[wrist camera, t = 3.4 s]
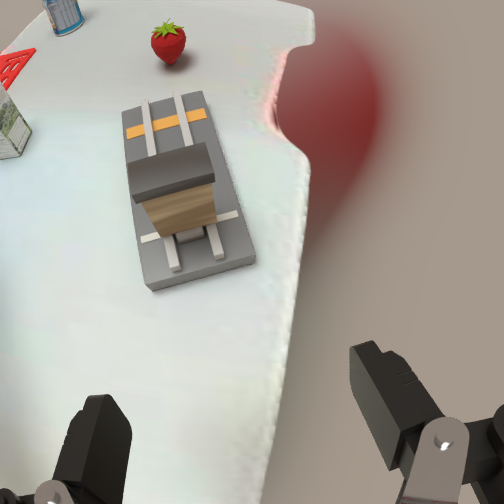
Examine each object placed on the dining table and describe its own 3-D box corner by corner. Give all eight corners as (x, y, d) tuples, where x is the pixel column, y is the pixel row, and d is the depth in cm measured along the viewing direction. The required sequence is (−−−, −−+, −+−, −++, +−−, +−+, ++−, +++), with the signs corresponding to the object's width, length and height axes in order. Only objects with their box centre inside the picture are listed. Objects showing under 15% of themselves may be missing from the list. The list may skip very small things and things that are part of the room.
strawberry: (187, 50, 50) (182, 6, 41) (190, 72, 48) (184, 25, 39) (156, 55, 50) (147, 13, 40) (156, 78, 47) (145, 32, 38)
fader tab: (222, 232, 35) (214, 174, 24) (162, 249, 34) (131, 197, 23) (214, 204, 36) (204, 139, 25) (156, 219, 35) (126, 161, 24)
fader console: (254, 262, 37) (256, 249, 33) (152, 291, 35) (140, 280, 31) (203, 104, 45) (201, 82, 41) (126, 125, 44) (118, 105, 39)
